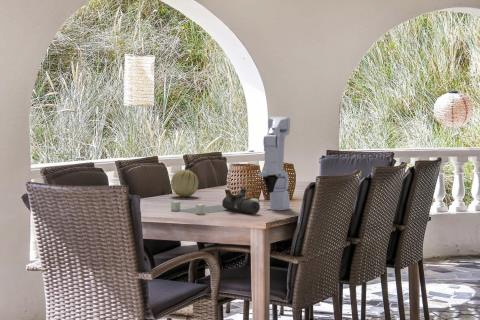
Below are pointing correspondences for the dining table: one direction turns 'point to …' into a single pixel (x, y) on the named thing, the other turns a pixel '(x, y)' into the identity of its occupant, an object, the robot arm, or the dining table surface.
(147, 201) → the dining table surface
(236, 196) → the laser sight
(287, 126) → the robot arm
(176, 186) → the cantaloupe
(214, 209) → the bay
